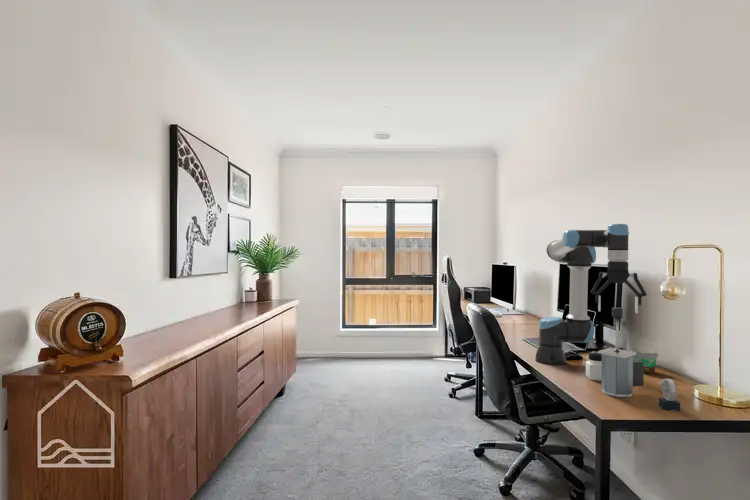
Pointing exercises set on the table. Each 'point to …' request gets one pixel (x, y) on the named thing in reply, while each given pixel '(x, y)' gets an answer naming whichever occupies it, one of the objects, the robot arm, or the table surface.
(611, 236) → the robot arm
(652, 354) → the food container
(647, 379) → the table surface
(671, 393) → the watch
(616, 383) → the press
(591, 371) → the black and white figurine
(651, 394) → the table surface
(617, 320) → the plunger
